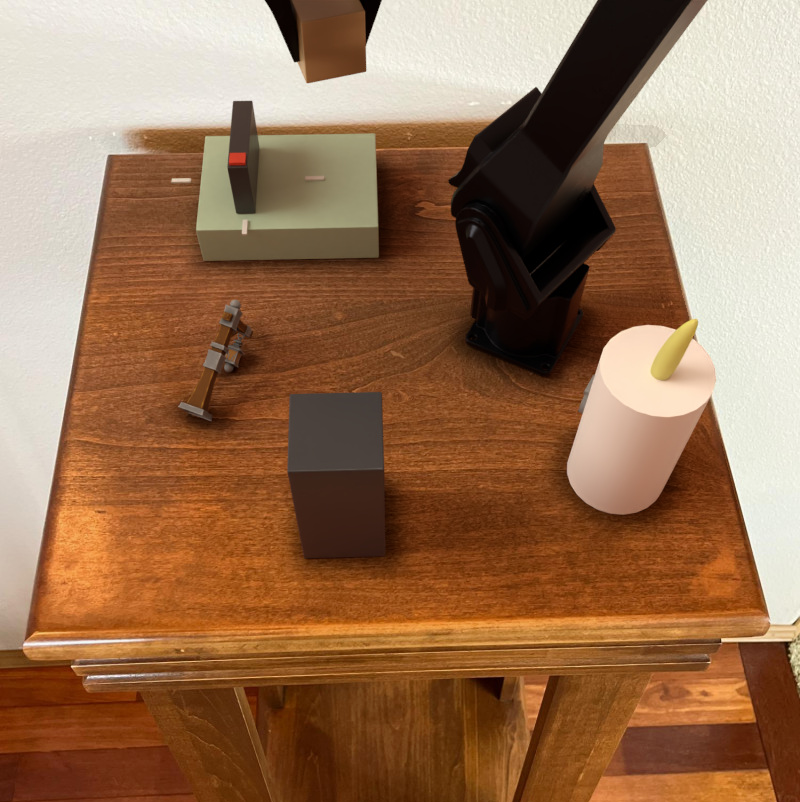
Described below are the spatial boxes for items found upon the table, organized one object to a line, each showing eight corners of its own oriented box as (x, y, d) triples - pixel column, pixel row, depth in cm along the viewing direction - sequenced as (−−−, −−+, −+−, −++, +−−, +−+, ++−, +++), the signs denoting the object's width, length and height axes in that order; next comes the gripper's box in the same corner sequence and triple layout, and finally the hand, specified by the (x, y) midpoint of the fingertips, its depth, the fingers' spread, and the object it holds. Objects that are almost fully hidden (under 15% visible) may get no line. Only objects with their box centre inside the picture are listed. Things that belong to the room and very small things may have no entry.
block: (348, 35, 59) (346, -27, 56) (366, 72, 58) (365, 10, 54) (290, 46, 59) (283, -16, 55) (306, 84, 57) (301, 22, 53)
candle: (585, 416, 60) (639, 248, 47) (678, 455, 59) (760, 293, 46) (548, 488, 58) (594, 331, 44) (644, 530, 56) (721, 381, 43)
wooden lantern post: (266, 322, 63) (245, 299, 58) (225, 429, 62) (201, 414, 58) (243, 315, 63) (220, 291, 59) (202, 421, 63) (176, 405, 58)
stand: (383, 486, 58) (381, 391, 49) (385, 556, 55) (384, 469, 46) (305, 488, 57) (289, 393, 49) (303, 558, 55) (287, 471, 46)
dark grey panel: (241, 147, 68) (232, 97, 64) (259, 147, 68) (252, 97, 64) (236, 213, 65) (226, 164, 61) (255, 213, 65) (247, 164, 61)
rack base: (375, 160, 72) (375, 125, 69) (379, 263, 67) (378, 231, 64) (186, 163, 72) (177, 129, 69) (174, 268, 66) (164, 235, 64)
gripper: (149, -136, 39) (212, 165, 53) (547, -200, 42) (508, 101, 56) (105, -252, 44) (173, 51, 58) (464, -301, 47) (447, -2, 61)
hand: (327, 52), depth 58 cm, fingers closed on block, 4 cm apart
